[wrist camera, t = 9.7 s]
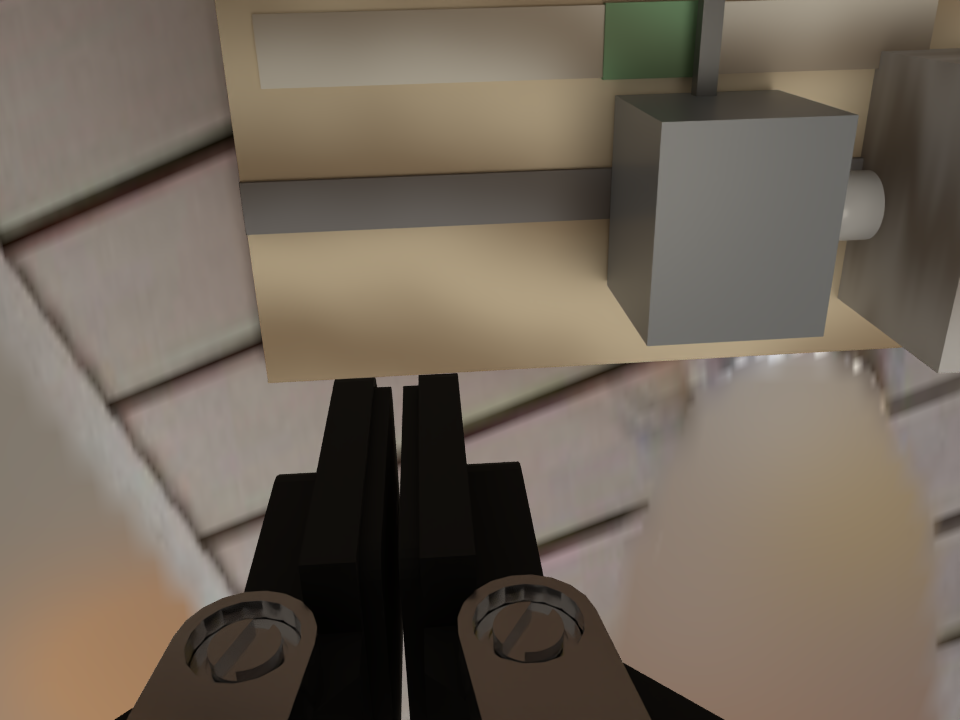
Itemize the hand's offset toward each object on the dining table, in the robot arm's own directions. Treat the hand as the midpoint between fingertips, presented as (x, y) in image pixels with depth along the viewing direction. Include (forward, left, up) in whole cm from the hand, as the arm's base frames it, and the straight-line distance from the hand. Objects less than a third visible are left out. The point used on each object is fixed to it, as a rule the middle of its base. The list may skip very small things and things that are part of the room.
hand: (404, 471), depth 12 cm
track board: (0, +7, -18) cm, 19 cm away
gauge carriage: (-1, +10, -16) cm, 19 cm away
